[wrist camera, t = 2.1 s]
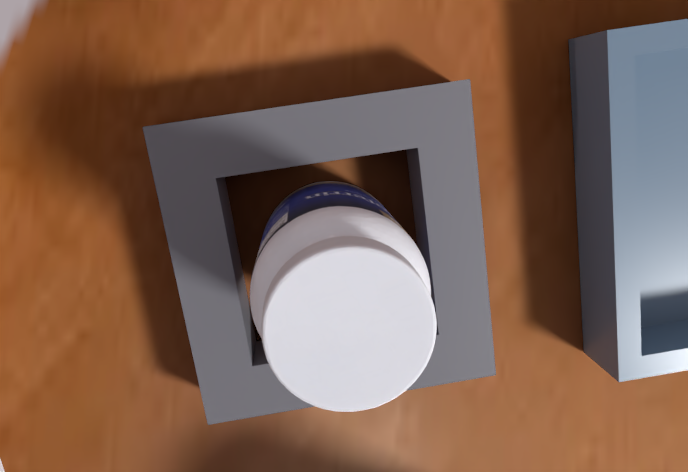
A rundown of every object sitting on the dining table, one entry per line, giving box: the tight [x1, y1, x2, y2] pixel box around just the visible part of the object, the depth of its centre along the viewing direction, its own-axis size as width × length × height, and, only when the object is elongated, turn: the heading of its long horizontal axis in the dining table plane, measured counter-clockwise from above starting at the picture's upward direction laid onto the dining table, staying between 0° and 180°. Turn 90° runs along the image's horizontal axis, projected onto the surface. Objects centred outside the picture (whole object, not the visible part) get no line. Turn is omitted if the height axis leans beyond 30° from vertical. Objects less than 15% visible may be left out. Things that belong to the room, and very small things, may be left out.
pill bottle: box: [250, 181, 437, 412], centre depth 20 cm, size 6×6×10 cm
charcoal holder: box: [143, 79, 496, 425], centre depth 23 cm, size 12×12×2 cm
